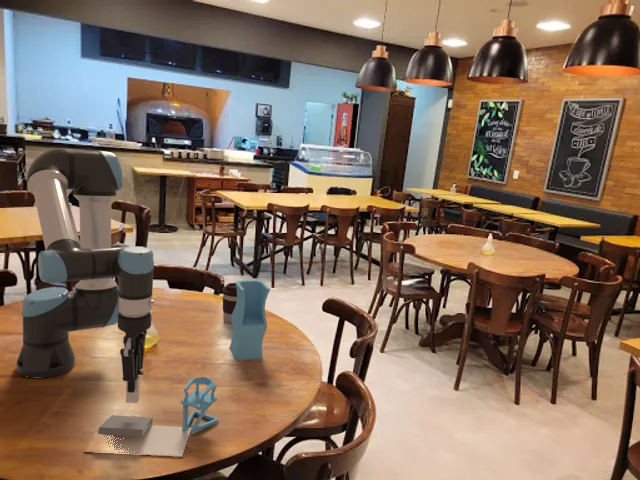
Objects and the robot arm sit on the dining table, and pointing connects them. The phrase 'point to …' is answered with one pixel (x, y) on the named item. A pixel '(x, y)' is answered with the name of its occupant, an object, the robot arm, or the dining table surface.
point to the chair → (199, 404)
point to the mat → (155, 441)
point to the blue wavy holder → (249, 320)
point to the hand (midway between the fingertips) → (132, 401)
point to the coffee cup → (229, 301)
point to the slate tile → (125, 426)
